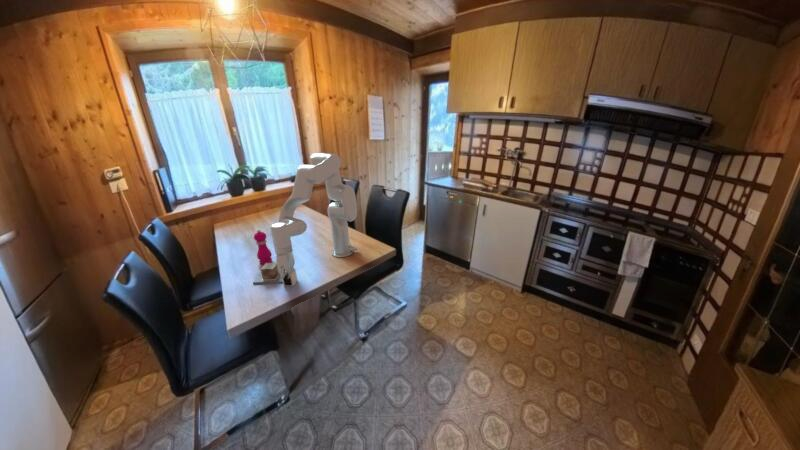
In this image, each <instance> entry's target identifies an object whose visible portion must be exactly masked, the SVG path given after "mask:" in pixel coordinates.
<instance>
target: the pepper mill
mask: <svg viewBox="0 0 800 450" xmlns="http://www.w3.org/2000/svg"><path fill="white" fill-rule="evenodd" d="M253 239H254V241H255V242H256V245H257V246H258V250H257V254H256V256H257V257H256V258H257V259H258V260H259V265H262V266H264V265H265V263H273V259H272V252H271V250H270V249H269V248H268V247H267V246H268V245H267V234H266V233H265V232H264V231H261V229H257V230H256V232H255V234H254V235H253Z"/></svg>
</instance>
